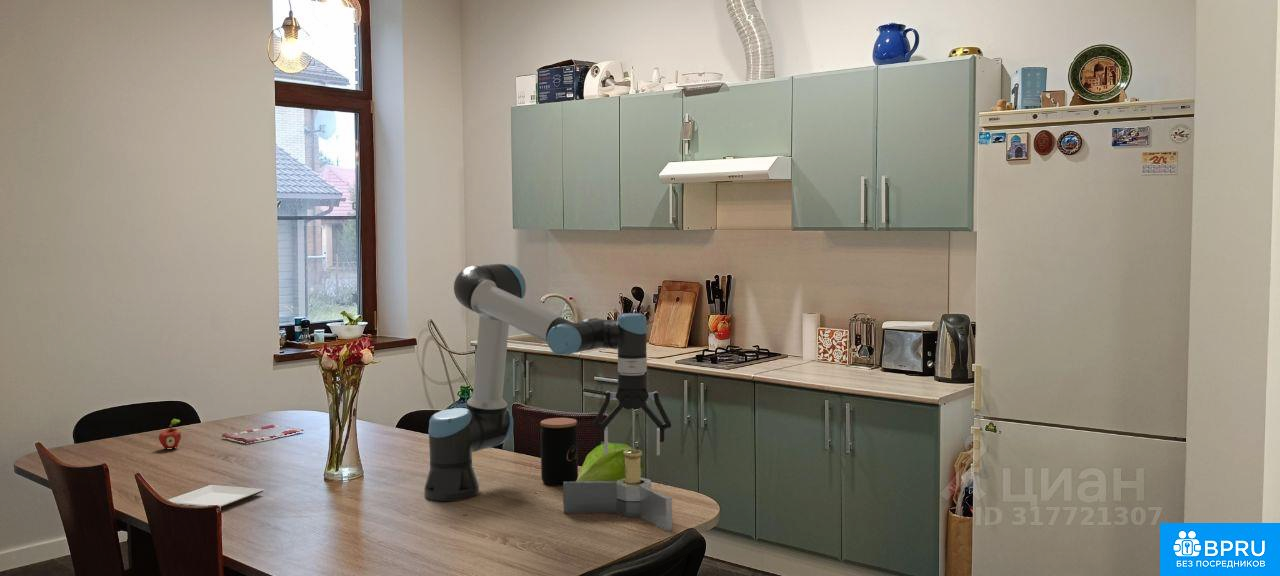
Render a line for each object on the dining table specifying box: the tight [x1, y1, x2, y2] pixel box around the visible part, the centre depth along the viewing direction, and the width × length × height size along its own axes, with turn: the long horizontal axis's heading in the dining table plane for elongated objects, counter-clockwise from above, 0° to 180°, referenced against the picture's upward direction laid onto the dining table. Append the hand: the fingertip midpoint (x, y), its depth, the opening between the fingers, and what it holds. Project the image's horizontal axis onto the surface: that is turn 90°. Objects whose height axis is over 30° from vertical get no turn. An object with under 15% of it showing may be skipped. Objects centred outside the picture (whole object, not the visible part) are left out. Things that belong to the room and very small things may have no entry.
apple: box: [158, 418, 182, 449], centre depth 342 cm, size 8×7×10 cm
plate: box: [167, 484, 265, 509], centre depth 275 cm, size 19×19×2 cm
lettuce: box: [576, 441, 644, 481], centre depth 277 cm, size 15×22×15 cm
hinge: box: [562, 477, 673, 532], centre depth 253 cm, size 28×21×8 cm
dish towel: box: [221, 424, 305, 443], centre depth 361 cm, size 17×23×3 cm
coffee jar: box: [540, 417, 579, 487], centre depth 290 cm, size 11×11×18 cm
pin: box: [623, 449, 643, 485], centre depth 259 cm, size 5×5×16 cm
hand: (632, 454), depth 258 cm, fingers open, 13 cm apart
